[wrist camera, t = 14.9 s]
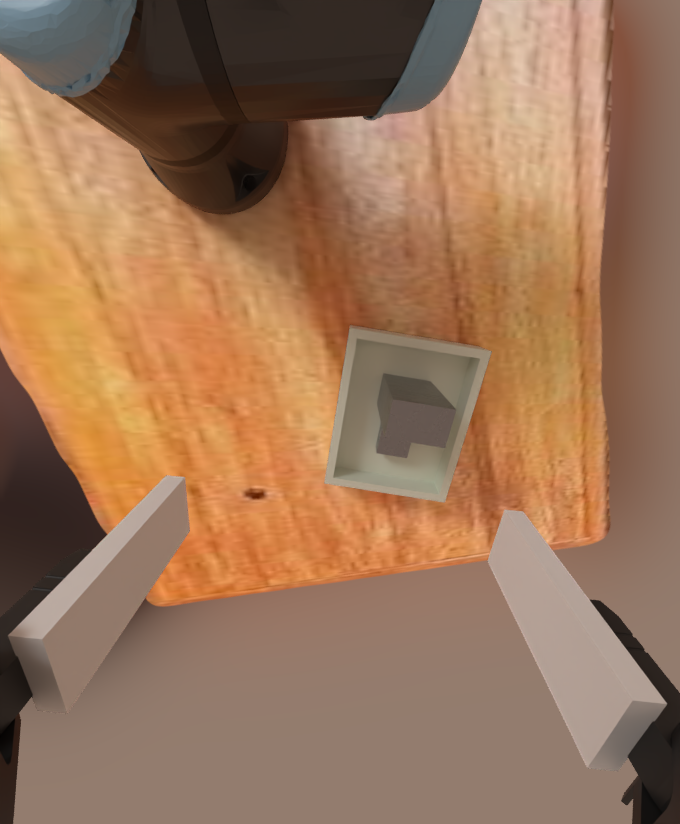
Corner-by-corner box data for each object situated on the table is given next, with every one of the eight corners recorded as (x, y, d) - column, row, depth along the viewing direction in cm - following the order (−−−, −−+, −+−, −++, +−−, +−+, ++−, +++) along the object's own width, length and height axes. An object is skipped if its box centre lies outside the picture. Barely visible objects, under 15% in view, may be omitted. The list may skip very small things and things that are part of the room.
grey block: (383, 373, 41) (393, 399, 31) (430, 381, 41) (456, 409, 31) (368, 445, 44) (372, 490, 34) (412, 452, 44) (429, 500, 34)
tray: (350, 324, 40) (349, 327, 36) (479, 346, 40) (491, 351, 37) (326, 468, 47) (324, 483, 43) (437, 486, 47) (444, 502, 43)
